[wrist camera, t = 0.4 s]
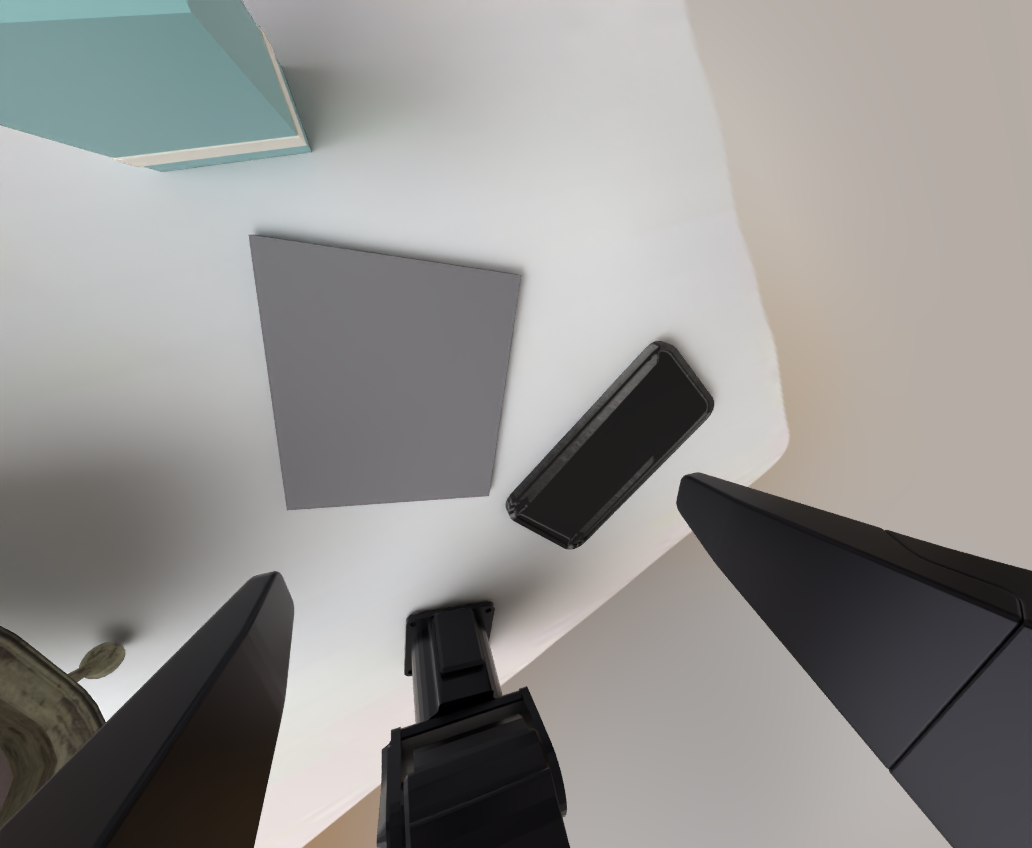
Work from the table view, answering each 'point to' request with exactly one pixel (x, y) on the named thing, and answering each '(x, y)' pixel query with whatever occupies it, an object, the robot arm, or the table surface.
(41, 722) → the tabletop clock
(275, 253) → the felt mat
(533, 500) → the phone
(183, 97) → the box
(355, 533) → the table surface
